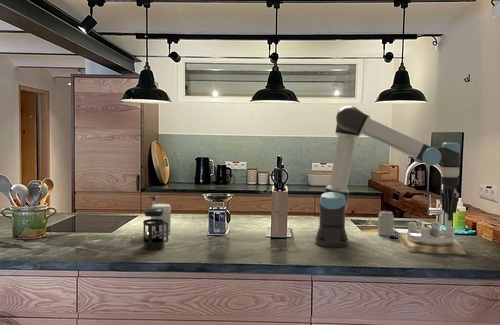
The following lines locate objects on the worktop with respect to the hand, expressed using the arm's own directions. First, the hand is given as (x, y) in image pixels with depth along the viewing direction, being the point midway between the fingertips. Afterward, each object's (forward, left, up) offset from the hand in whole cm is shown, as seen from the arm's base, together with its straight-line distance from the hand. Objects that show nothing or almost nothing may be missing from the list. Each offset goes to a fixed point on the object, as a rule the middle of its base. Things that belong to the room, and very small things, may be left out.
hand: (448, 226), depth 198 cm
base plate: (-8, -2, -9) cm, 12 cm away
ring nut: (-8, -2, -6) cm, 10 cm away
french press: (-131, -28, -9) cm, 135 cm away
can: (-25, +16, -9) cm, 31 cm away
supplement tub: (-137, -4, -9) cm, 138 cm away
